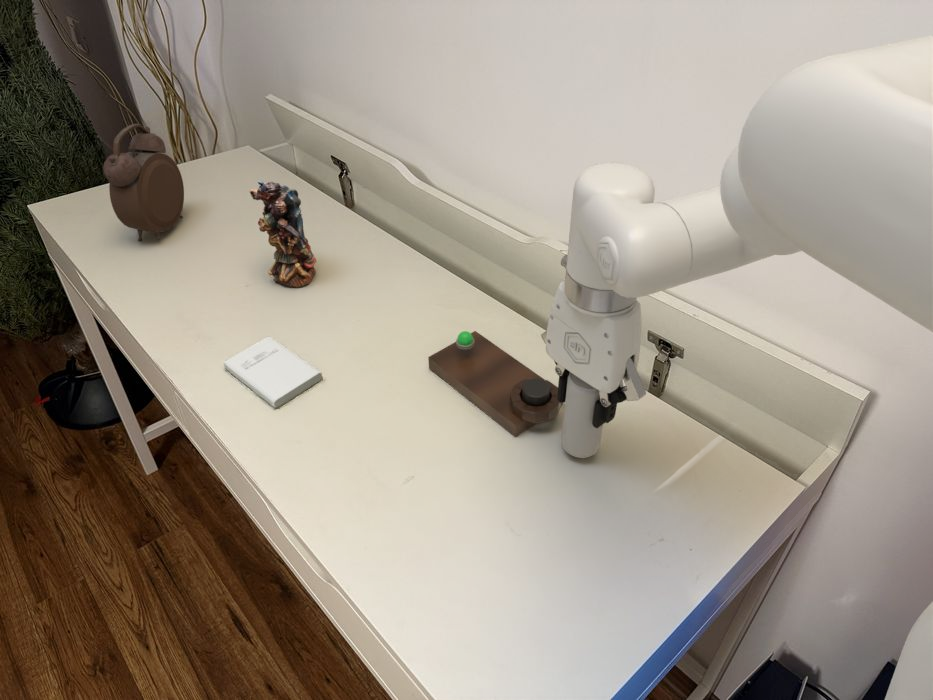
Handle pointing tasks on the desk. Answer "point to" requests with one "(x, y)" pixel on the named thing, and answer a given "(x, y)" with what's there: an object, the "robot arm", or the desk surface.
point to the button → (535, 392)
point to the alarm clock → (144, 183)
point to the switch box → (493, 383)
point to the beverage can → (580, 419)
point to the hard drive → (273, 371)
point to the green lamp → (465, 340)
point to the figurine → (285, 234)
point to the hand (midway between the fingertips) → (585, 407)
